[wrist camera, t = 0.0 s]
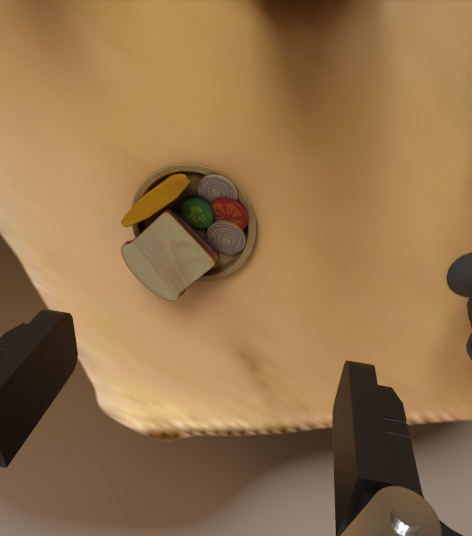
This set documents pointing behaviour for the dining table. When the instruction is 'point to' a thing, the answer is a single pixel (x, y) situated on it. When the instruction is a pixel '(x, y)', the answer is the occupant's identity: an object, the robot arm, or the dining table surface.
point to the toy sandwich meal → (187, 229)
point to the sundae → (463, 286)
